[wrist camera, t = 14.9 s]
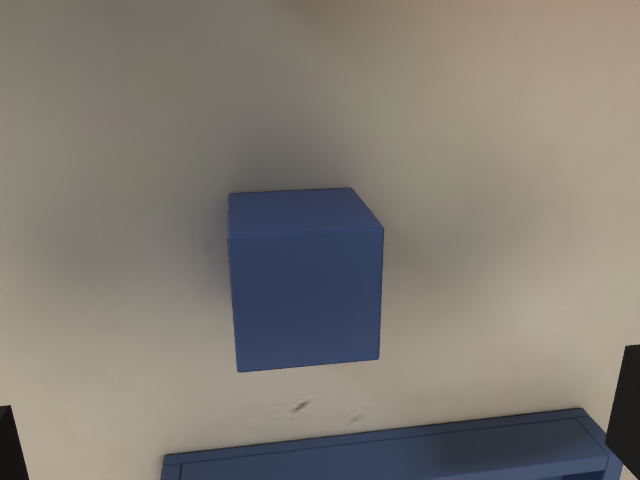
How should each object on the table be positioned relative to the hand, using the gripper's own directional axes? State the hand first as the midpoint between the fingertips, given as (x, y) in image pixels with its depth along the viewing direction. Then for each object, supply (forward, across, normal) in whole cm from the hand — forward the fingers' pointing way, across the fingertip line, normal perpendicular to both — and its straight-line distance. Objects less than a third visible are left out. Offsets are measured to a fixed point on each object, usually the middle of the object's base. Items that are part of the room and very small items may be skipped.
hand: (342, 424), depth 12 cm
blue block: (+10, 0, 0) cm, 10 cm away
